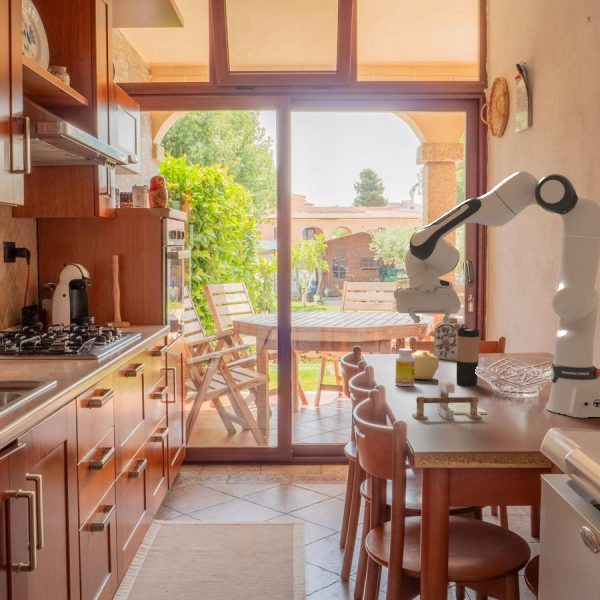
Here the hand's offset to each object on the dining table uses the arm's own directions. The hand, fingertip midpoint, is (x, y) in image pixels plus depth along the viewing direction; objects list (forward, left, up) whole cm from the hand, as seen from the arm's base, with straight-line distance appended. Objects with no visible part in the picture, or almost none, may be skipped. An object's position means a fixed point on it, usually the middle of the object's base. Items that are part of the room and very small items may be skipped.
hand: (432, 322), depth 226 cm
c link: (-4, +15, -26) cm, 30 cm away
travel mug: (-14, -36, -26) cm, 47 cm away
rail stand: (-4, +16, -26) cm, 31 cm away
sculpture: (+2, -44, -26) cm, 51 cm away
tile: (-10, +6, -26) cm, 28 cm away
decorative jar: (-12, -97, -26) cm, 101 cm away
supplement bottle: (+8, -30, -26) cm, 40 cm away
